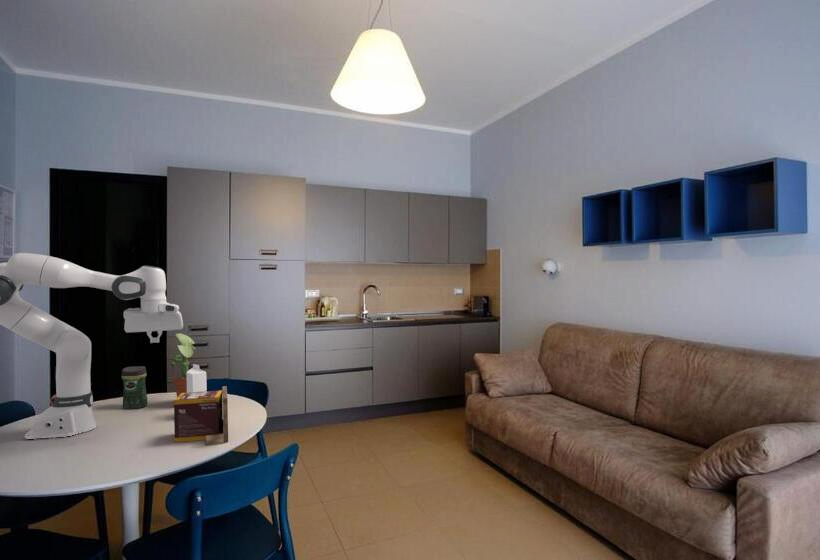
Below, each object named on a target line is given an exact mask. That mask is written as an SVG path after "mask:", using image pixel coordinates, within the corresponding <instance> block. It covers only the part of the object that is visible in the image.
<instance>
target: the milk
mask: <svg viewBox="0 0 820 560" xmlns="http://www.w3.org/2000/svg"><path fill="white" fill-rule="evenodd" d="M186 376H187V393H190V392H204V391H207V390H208V389H207V371H205V370H202V369H201V368H200V365H199V364H196V363H193V365H192V367H191V368H190V369H188V371H187V372H186Z"/></svg>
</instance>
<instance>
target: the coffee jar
mask: <svg viewBox="0 0 820 560" xmlns="http://www.w3.org/2000/svg"><path fill="white" fill-rule="evenodd" d="M147 376H148V375H147V368H146V366H139V365H138V366H127V367H124V368H122V370H121V380H122V381H123V382H122V383H123V385H122V386H123V388H122V389H123V393H122V408H123V409H126V410H127V409H128V410H135V409H141V408H144V407H147V405H148V396H147V395H148V394H147V388H146V377H147Z"/></svg>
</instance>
